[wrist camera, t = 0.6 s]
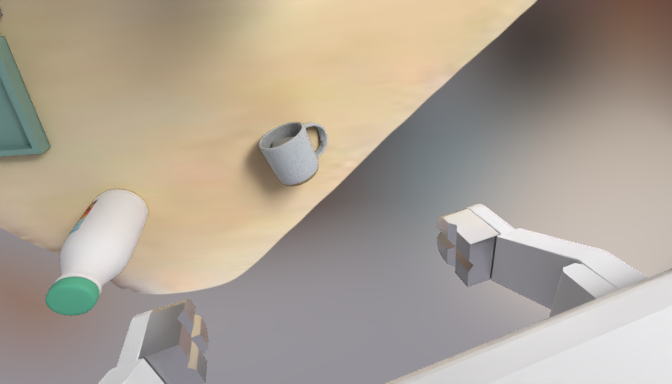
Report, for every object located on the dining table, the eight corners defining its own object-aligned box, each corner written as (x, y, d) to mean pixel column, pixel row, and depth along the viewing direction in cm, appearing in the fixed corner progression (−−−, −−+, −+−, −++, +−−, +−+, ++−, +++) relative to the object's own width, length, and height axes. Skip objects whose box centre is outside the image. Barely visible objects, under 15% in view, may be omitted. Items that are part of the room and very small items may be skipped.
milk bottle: (118, 178, 50) (61, 262, 33) (159, 209, 54) (127, 298, 37) (81, 208, 51) (6, 306, 34) (125, 236, 55) (78, 336, 38)
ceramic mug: (279, 176, 57) (286, 197, 51) (255, 137, 53) (260, 154, 46) (332, 148, 58) (346, 165, 51) (313, 107, 53) (326, 120, 47)
